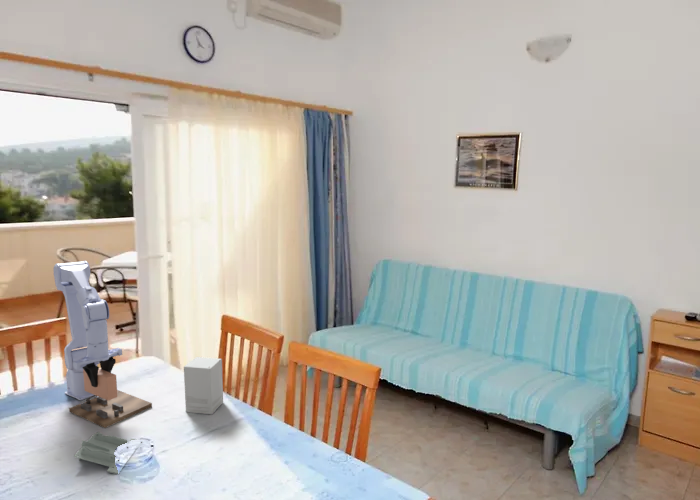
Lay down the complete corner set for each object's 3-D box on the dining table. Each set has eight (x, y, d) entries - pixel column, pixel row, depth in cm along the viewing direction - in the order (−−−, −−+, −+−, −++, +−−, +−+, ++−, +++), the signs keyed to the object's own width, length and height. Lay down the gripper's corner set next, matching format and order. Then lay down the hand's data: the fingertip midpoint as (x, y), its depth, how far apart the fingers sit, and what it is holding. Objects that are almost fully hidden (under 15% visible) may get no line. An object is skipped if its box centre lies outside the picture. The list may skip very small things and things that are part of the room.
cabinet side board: (69, 411, 157) (68, 403, 157) (116, 392, 171) (116, 385, 170) (104, 428, 148) (104, 419, 148) (151, 406, 161) (151, 398, 161)
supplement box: (224, 402, 165) (223, 358, 163) (212, 415, 157) (210, 368, 154) (198, 399, 167) (196, 355, 165) (184, 412, 158) (182, 366, 156)
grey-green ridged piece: (67, 453, 125) (96, 422, 140) (62, 474, 126) (91, 441, 141) (125, 468, 126) (147, 437, 141) (119, 489, 127) (142, 455, 142)
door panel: (84, 390, 158) (83, 369, 156) (93, 387, 160) (92, 366, 159) (108, 400, 151) (106, 378, 150) (117, 396, 154) (116, 374, 153)
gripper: (81, 351, 145) (84, 396, 147) (127, 337, 157) (129, 379, 159) (67, 346, 149) (70, 390, 151) (113, 333, 161) (115, 373, 163)
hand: (100, 384), depth 155 cm, fingers closed on door panel, 3 cm apart
